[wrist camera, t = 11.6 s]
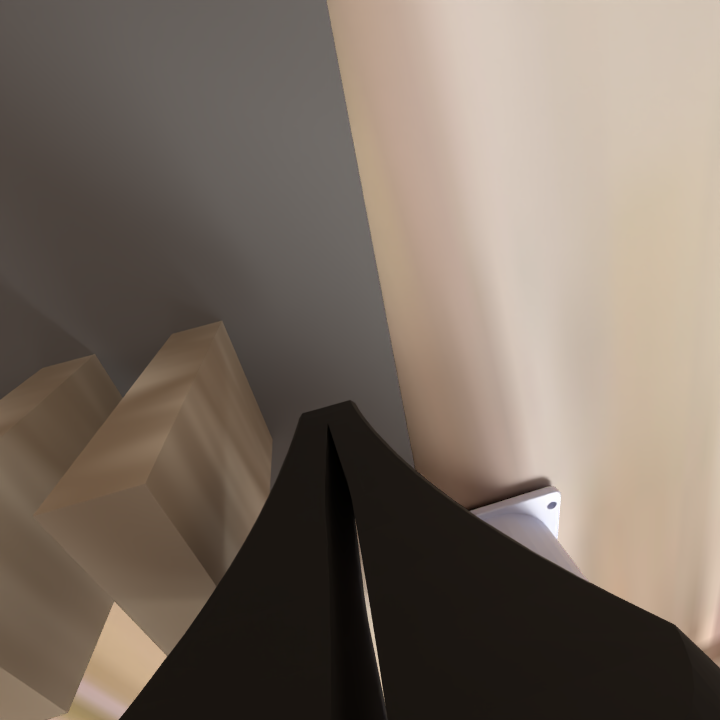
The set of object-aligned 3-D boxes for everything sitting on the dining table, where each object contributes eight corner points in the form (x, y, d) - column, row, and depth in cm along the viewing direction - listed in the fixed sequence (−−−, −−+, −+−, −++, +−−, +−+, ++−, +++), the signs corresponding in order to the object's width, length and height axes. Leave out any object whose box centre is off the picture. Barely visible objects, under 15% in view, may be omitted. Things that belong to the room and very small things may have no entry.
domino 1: (94, 354, 11) (-145, 567, 5) (168, 469, 13) (67, 712, 7) (42, 367, 11) (-270, 603, 5) (125, 481, 13) (-14, 739, 7)
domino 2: (221, 320, 11) (144, 484, 5) (272, 439, 14) (261, 649, 8) (172, 333, 11) (32, 516, 5) (231, 451, 14) (185, 674, 7)
